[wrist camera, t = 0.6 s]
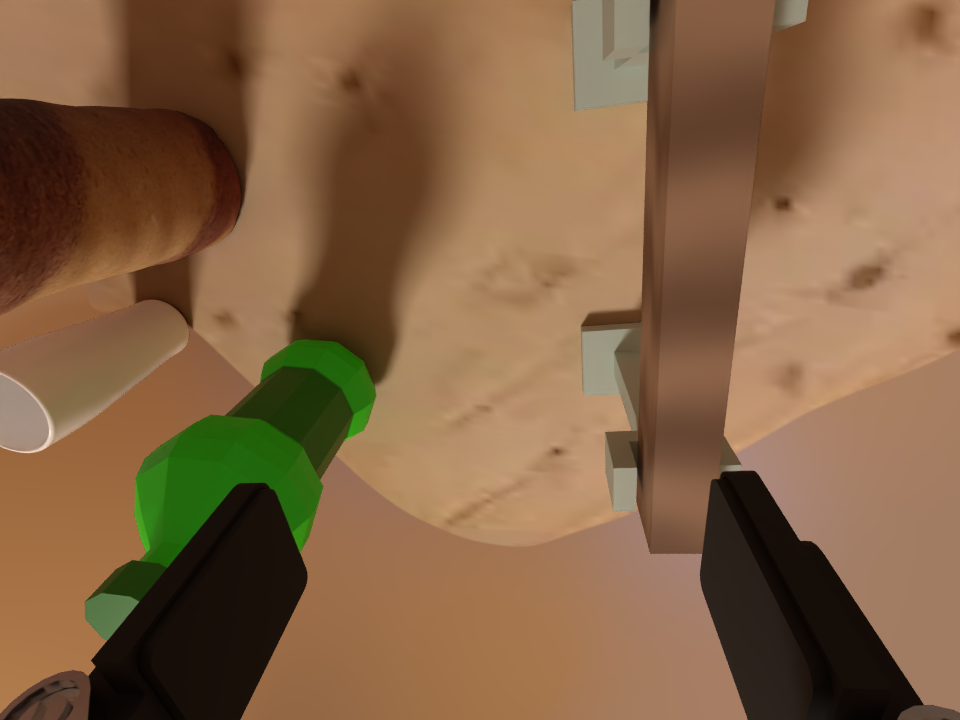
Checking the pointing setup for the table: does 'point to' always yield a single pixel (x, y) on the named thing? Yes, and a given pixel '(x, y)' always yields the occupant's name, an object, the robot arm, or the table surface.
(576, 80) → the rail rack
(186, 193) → the wafer roll
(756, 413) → the table surface
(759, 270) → the table surface
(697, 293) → the walnut rail
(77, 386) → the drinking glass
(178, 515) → the plastic bottle
